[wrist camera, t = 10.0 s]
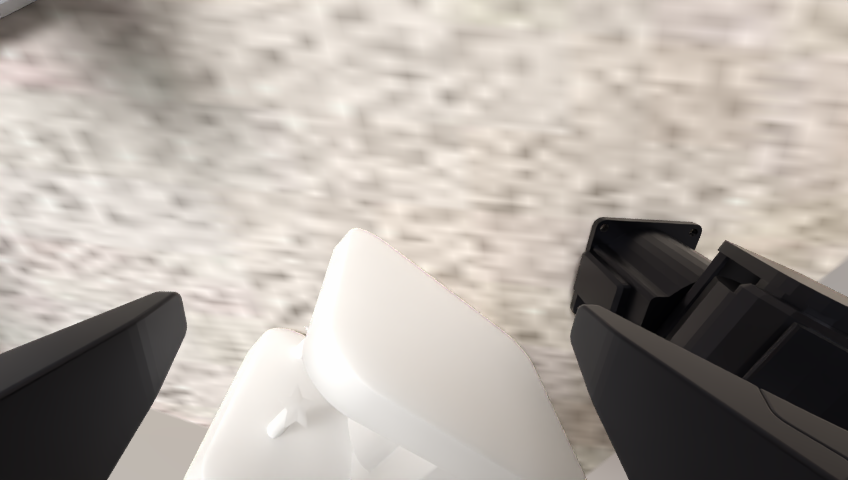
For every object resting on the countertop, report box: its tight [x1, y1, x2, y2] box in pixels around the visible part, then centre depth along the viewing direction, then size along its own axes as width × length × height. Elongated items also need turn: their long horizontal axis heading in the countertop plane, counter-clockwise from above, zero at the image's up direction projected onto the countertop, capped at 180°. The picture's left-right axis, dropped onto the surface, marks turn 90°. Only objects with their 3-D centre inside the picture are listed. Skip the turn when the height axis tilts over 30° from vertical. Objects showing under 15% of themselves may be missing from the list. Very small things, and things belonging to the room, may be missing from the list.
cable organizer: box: [184, 228, 587, 480], centre depth 20 cm, size 15×11×12 cm
